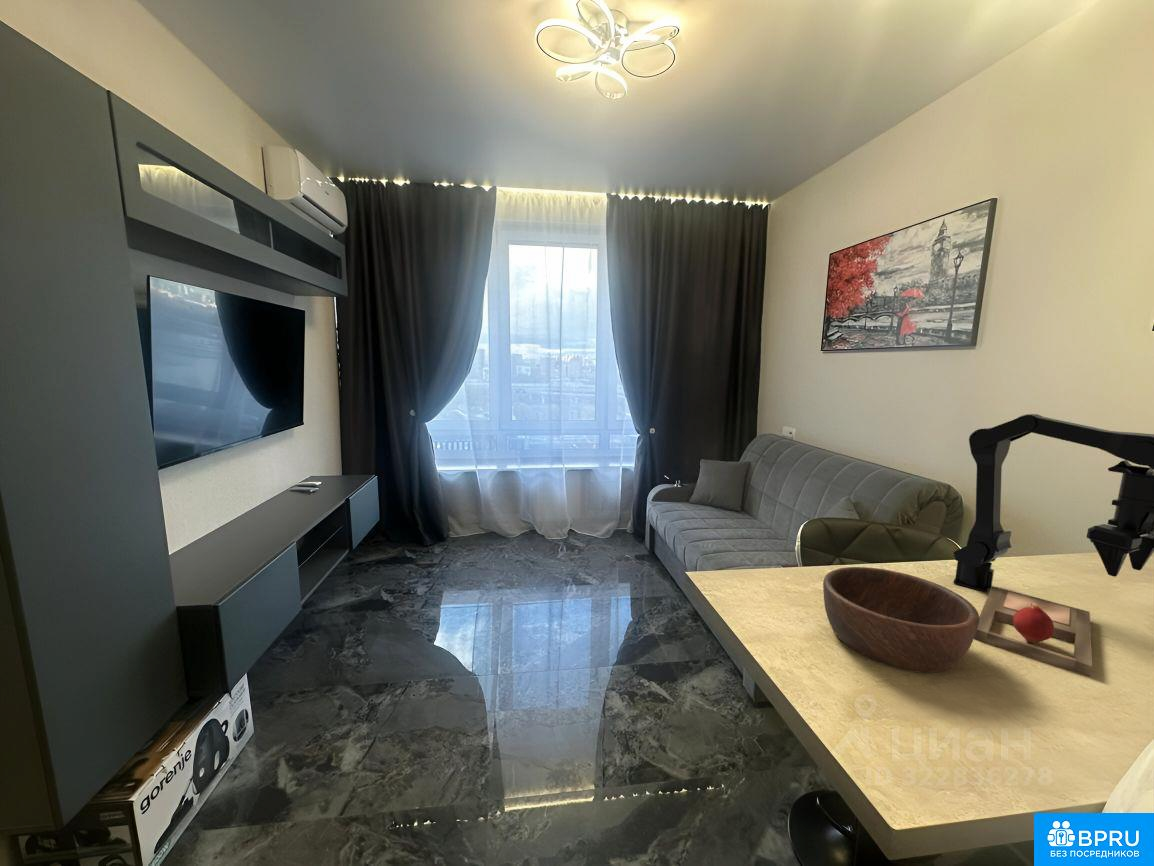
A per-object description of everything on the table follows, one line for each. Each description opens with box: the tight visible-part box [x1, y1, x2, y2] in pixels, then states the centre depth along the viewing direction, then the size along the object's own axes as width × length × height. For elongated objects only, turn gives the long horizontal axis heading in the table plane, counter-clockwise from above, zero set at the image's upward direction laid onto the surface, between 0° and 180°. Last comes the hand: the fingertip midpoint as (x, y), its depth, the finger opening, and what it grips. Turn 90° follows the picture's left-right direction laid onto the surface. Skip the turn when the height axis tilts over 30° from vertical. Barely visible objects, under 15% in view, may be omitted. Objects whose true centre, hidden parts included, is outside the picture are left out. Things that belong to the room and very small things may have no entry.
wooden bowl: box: [822, 566, 980, 673], centre depth 92 cm, size 25×25×10 cm
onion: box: [1013, 603, 1054, 644], centre depth 93 cm, size 6×6×8 cm
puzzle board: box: [973, 585, 1093, 677], centre depth 98 cm, size 16×28×2 cm, turn 133°
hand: (1124, 572), depth 95 cm, fingers open, 9 cm apart
